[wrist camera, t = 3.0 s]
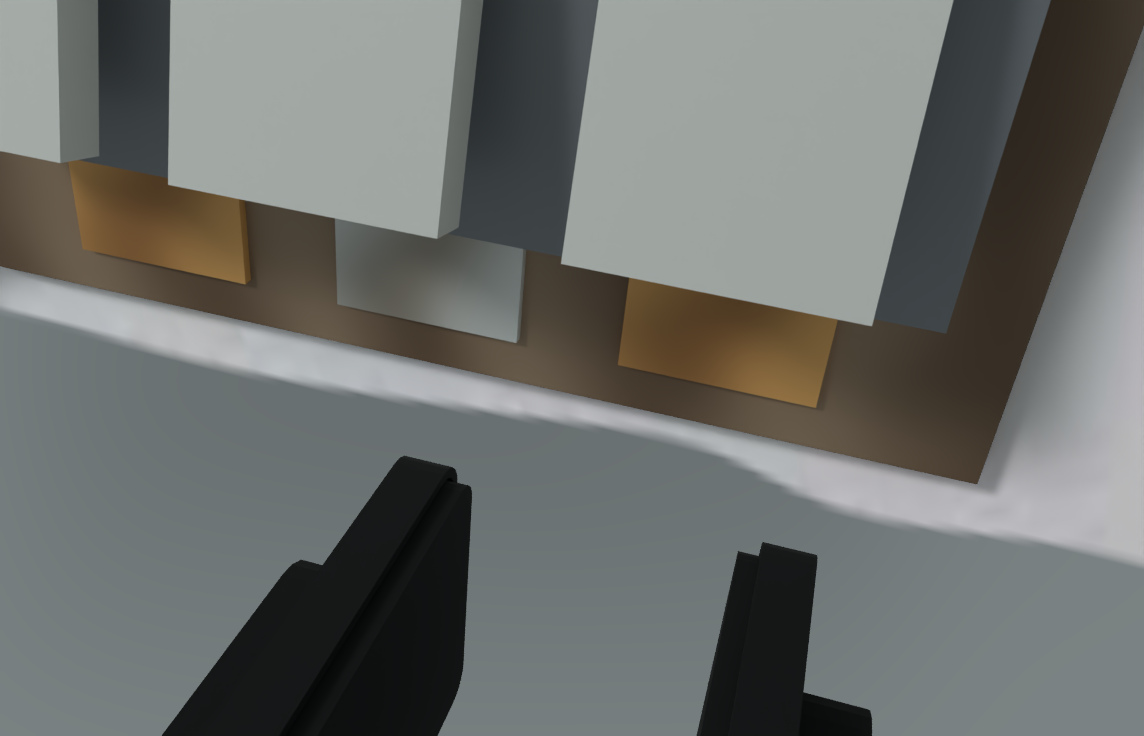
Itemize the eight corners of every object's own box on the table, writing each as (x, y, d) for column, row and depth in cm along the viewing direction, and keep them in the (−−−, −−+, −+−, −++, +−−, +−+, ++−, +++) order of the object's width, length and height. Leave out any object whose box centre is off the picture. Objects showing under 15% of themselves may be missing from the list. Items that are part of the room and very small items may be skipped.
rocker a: (990, -172, 17) (1000, -186, 16) (870, 309, 20) (871, 326, 18) (644, -213, 18) (631, -228, 17) (576, 250, 21) (561, 263, 19)
